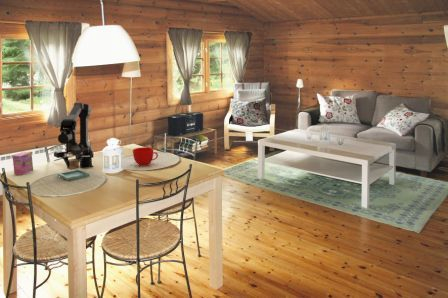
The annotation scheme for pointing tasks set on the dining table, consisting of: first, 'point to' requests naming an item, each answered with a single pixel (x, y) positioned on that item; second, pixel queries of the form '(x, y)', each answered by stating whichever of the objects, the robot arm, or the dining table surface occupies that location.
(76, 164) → the cube
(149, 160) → the ceramic cup
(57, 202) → the dining table surface
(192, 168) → the dining table surface
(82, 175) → the tray
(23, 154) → the box
